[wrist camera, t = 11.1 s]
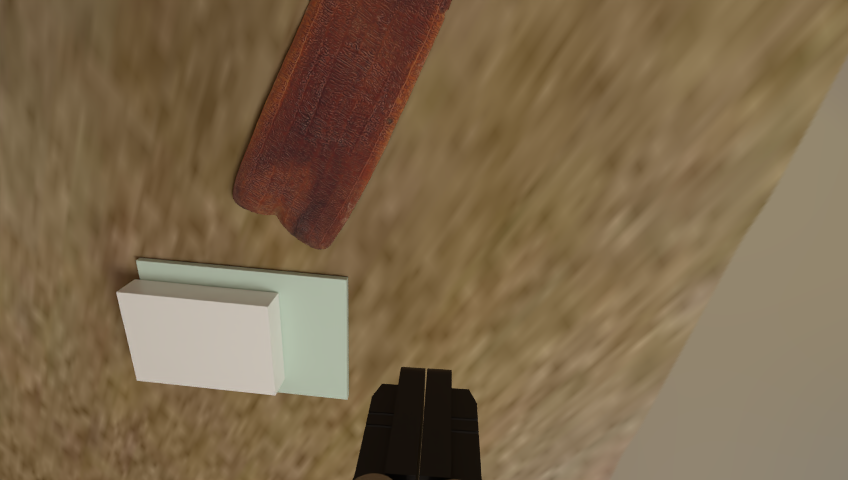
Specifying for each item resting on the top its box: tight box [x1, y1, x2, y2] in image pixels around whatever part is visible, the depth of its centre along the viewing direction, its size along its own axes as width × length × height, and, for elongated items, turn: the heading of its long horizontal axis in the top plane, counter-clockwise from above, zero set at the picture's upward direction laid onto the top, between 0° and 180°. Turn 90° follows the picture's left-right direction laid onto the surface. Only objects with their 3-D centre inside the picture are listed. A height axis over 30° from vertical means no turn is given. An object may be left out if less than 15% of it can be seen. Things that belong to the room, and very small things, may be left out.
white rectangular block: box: [116, 279, 285, 395], centre depth 44 cm, size 3×10×14 cm
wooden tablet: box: [233, 0, 452, 250], centre depth 35 cm, size 27×10×2 cm, turn 150°
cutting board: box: [136, 258, 349, 400], centre depth 45 cm, size 20×14×1 cm
